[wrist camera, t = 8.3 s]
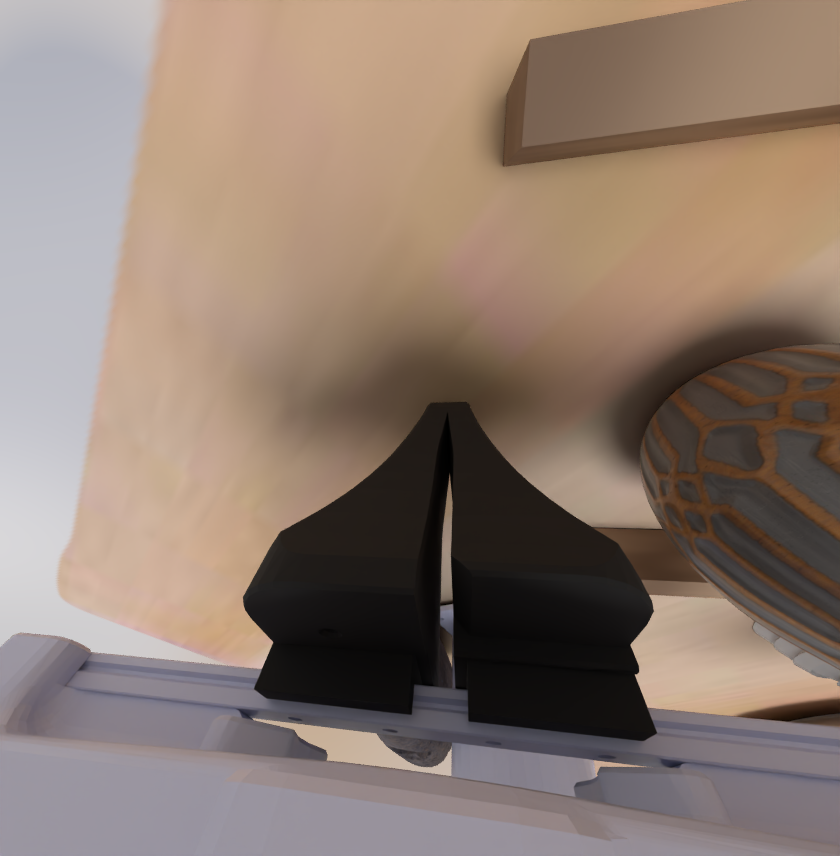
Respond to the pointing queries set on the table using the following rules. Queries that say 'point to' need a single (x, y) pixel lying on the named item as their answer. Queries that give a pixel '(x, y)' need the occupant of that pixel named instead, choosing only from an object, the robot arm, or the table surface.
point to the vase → (757, 487)
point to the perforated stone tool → (423, 749)
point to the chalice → (799, 655)
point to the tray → (675, 123)
